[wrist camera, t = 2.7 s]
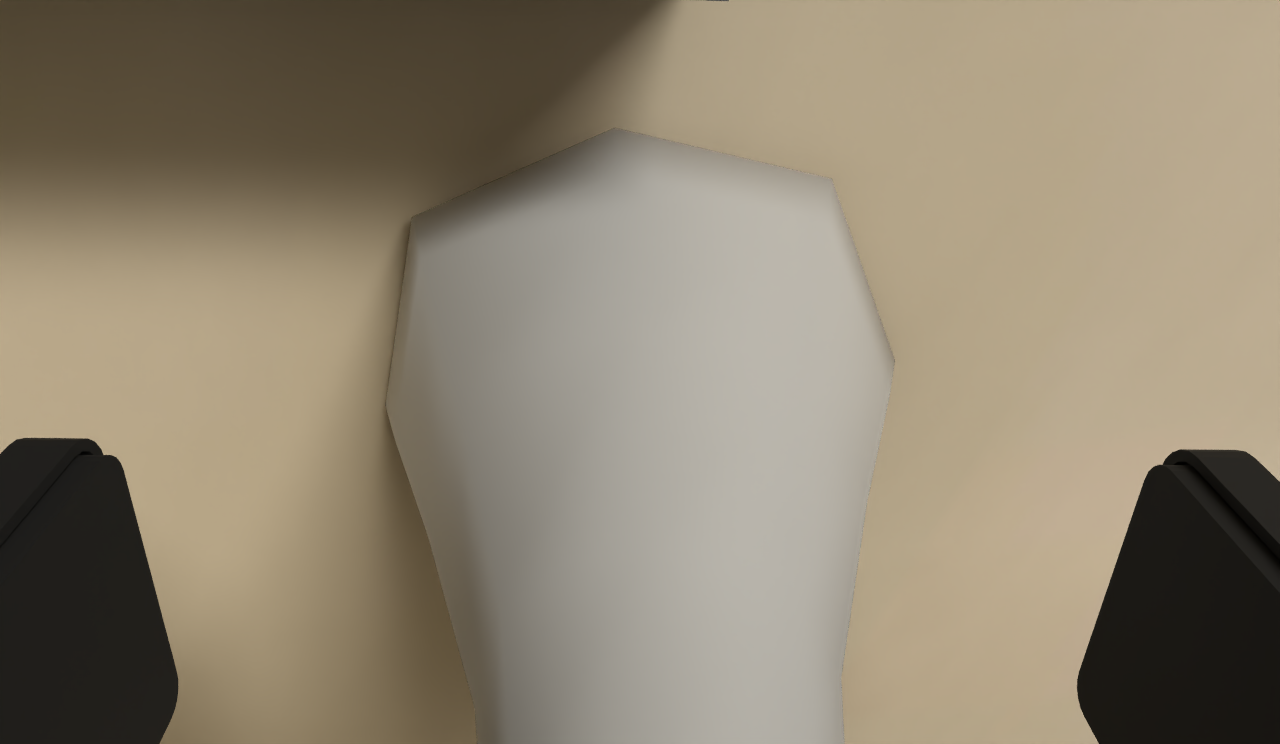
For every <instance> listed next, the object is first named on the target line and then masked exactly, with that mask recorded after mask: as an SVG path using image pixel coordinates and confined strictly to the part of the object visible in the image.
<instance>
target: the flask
mask: <svg viewBox="0 0 1280 744" xmlns="http://www.w3.org/2000/svg"><path fill="white" fill-rule="evenodd" d="M894 363H895V359H894V356H893V353H892V350H891V348H890V345H889V342H888V339H887V336H886V333H885V330H884V327H883V325H882V322H881V319H880V316H879V313H878V310H877V307H876V304H875V302H874V299H873V296H872V293H871V290H870V287H869V284H868V281H867V279H866V276H865V273H864V270H863V267H862V264H861V261H860V258H859V255H858V253H857V250H856V247H855V244H854V241H853V238H852V235H851V232H850V230H849V227H848V224H847V221H846V218H845V215H844V212H843V209H842V207H841V204H840V201H839V198H838V195H837V192H836V189H835V186H834V184H833V181H832V179H831V178H827V177H823V176H818V175H814V174H810V173H805V172H801V171H797V170H793V169H788V168H784V167H780V166H776V165H771V164H767V163H763V162H758V161H754V160H750V159H746V158H741V157H737V156H733V155H729V154H724V153H720V152H716V151H711V150H707V149H703V148H699V147H694V146H690V145H686V144H682V143H677V142H673V141H669V140H664V139H660V138H656V137H652V136H647V135H643V134H639V133H635V132H630V131H626V130H622V129H617V128H613V129H611V130H608V131H606V132H604V133H602V134H599V135H597V136H595V137H592V138H590V139H588V140H586V141H583V142H581V143H579V144H577V145H574V146H572V147H570V148H567V149H565V150H563V151H561V152H558V153H556V154H554V155H552V156H549V157H547V158H545V159H543V160H540V161H538V162H536V163H533V164H531V165H529V166H527V167H524V168H522V169H520V170H518V171H515V172H513V173H511V174H508V175H506V176H504V177H502V178H499V179H497V180H495V181H493V182H490V183H488V184H486V185H483V186H481V187H479V188H477V189H474V190H472V191H470V192H468V193H465V194H463V195H461V196H459V197H456V198H454V199H452V200H449V201H447V202H445V203H443V204H440V205H438V206H436V207H434V208H431V209H429V210H427V211H424V212H422V213H420V214H418V215H415V216H413V217H412V221H411V228H410V235H409V242H408V249H407V256H406V263H405V271H404V278H403V285H402V292H401V299H400V306H399V313H398V320H397V327H396V334H395V341H394V348H393V355H392V363H391V370H390V377H389V384H388V391H387V398H386V405H385V406H386V409H387V413H388V417H389V420H390V424H391V428H392V431H393V435H394V439H395V442H396V444H397V447H398V450H399V453H400V456H401V459H402V462H403V465H404V468H405V471H406V474H407V477H408V480H409V483H410V486H411V488H412V491H413V494H414V497H415V500H416V503H417V506H418V509H419V512H420V515H421V518H422V521H423V524H424V527H425V530H426V532H427V535H428V538H429V542H430V546H431V549H432V553H433V557H434V560H435V564H436V568H437V571H438V575H439V579H440V582H441V586H442V590H443V593H444V597H445V601H446V605H447V608H448V612H449V616H450V619H451V623H452V627H453V630H454V634H455V638H456V641H457V645H458V649H459V652H460V656H461V660H462V663H463V667H464V671H465V674H466V678H467V682H468V686H469V689H470V693H471V697H472V700H473V704H474V708H475V720H476V735H477V744H844V724H843V704H842V684H841V675H842V669H843V662H844V655H845V648H846V642H847V635H848V628H849V621H850V615H851V608H852V601H853V594H854V587H855V581H856V574H857V567H858V560H859V554H860V547H861V540H862V533H863V527H864V520H865V513H866V506H867V500H868V495H869V491H870V486H871V481H872V476H873V472H874V467H875V462H876V458H877V453H878V448H879V443H880V439H881V434H882V429H883V425H884V420H885V415H886V410H887V406H888V401H889V396H890V390H891V383H892V377H893V370H894Z"/></svg>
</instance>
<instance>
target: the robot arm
mask: <svg viewBox="0 0 1280 744" xmlns="http://www.w3.org/2000/svg"><path fill="white" fill-rule="evenodd" d="M1077 692H1078V699H1079V703H1080V707H1081V710H1082V712H1083V715H1084V717H1085V719H1086V720H1087V722H1088V724H1089V726H1090V728H1091V730H1092V732H1093V733H1094V735H1095V737H1096V739H1097V741H1098V743H1099V744H1280V482H1279V481H1278V480H1277V479H1276V478H1275V477H1274V476H1273V475H1272V474H1271V473H1270V472H1269V471H1268V470H1267V469H1266V468H1265V467H1264V466H1263V465H1262V464H1261V463H1260V462H1258V461H1257V460H1256V459H1255V458H1254V457H1253V456H1251V455H1250V454H1248V453H1247V452H1244V451H1238V450H1178V451H1175V452H1172V453H1171V454H1170V455H1169V456H1168V457H1167V458H1166V459H1165V461H1164V463H1163V465H1157V466H1155V467H1153V468H1152V469H1151V470H1150V471H1149V472H1148V474H1147V476H1146V478H1145V480H1144V483H1143V486H1142V489H1141V492H1140V495H1139V498H1138V501H1137V503H1136V506H1135V509H1134V512H1133V515H1132V518H1131V521H1130V524H1129V527H1128V530H1127V533H1126V536H1125V539H1124V542H1123V545H1122V547H1121V550H1120V553H1119V556H1118V559H1117V562H1116V565H1115V568H1114V571H1113V574H1112V577H1111V580H1110V583H1109V586H1108V589H1107V592H1106V594H1105V597H1104V600H1103V603H1102V606H1101V609H1100V612H1099V615H1098V618H1097V621H1096V624H1095V627H1094V630H1093V633H1092V636H1091V639H1090V641H1089V644H1088V647H1087V650H1086V653H1085V656H1084V659H1083V662H1082V665H1081V668H1080V671H1079V675H1078V679H1077ZM177 696H178V676H177V671H176V667H175V663H174V659H173V656H172V652H171V648H170V644H169V641H168V637H167V633H166V629H165V625H164V622H163V618H162V614H161V610H160V606H159V603H158V599H157V595H156V591H155V588H154V584H153V580H152V576H151V572H150V569H149V565H148V561H147V557H146V553H145V550H144V546H143V542H142V538H141V534H140V531H139V527H138V523H137V519H136V516H135V512H134V508H133V504H132V500H131V497H130V493H129V489H128V485H127V481H126V478H125V474H124V470H123V468H122V465H121V463H120V461H119V460H118V459H117V458H116V457H114V456H112V455H103V453H102V450H101V448H100V447H99V446H98V445H97V444H96V442H94V441H92V440H90V439H74V438H23V439H17V440H16V441H14V442H13V443H11V444H10V445H9V446H8V447H7V448H6V449H5V450H4V451H3V452H2V453H1V454H0V744H159V743H160V741H161V739H162V737H163V735H164V733H165V731H166V729H167V727H168V725H169V722H170V720H171V718H172V716H173V713H174V710H175V706H176V702H177Z"/></svg>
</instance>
